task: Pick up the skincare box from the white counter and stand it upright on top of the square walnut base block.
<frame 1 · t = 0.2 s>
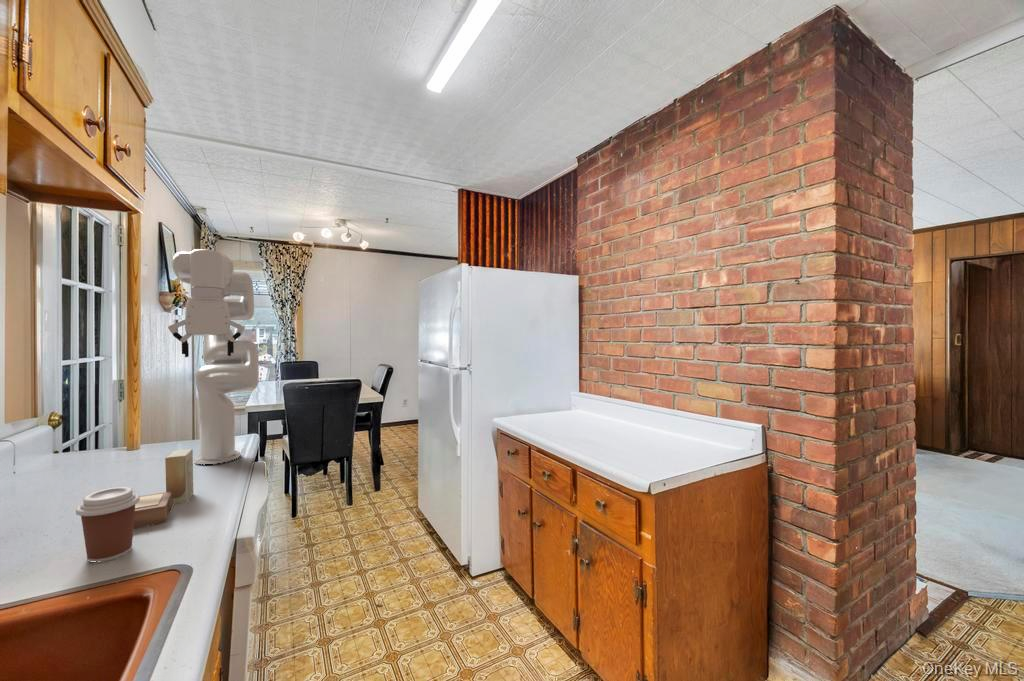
hand: (208, 356, 118), 36 cm above the countertop, tool pointing down, fingers open, 9 cm apart
coffee cup: (110, 554, 83), on the countertop
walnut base: (141, 518, 98), on the countertop
skincare box: (180, 500, 109), on the countertop
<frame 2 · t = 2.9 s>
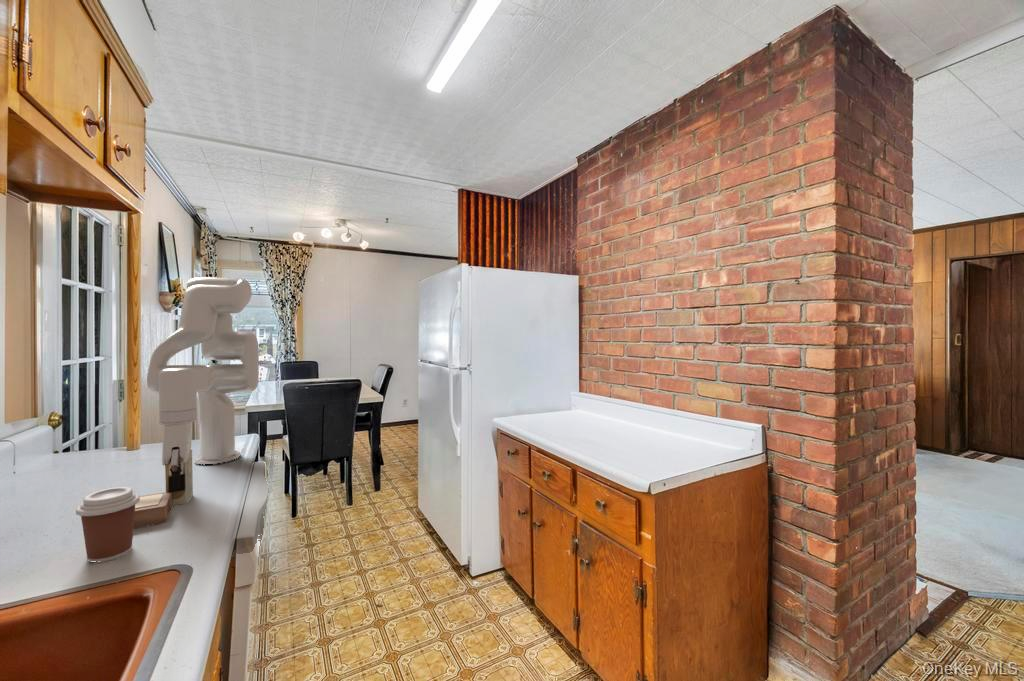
hand: (179, 485, 108), 4 cm above the countertop, tool pointing down, fingers closed on skincare box, 6 cm apart
skincare box: (179, 501, 108), on the countertop, touching gripper
everything else where it was.
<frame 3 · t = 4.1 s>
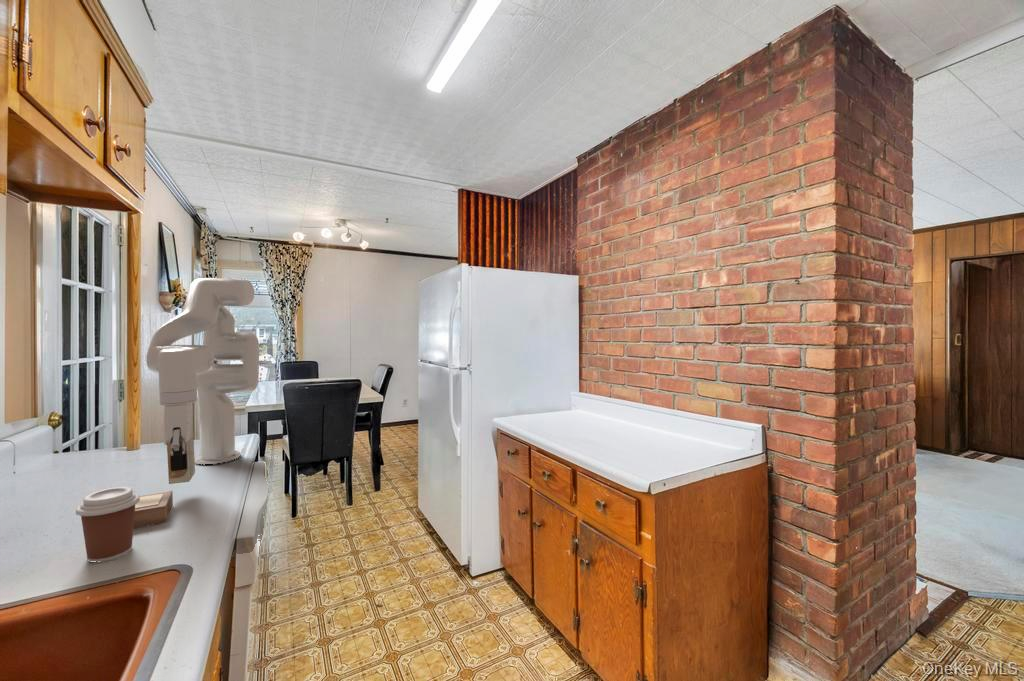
hand: (181, 464, 109), 9 cm above the countertop, tool pointing down, fingers closed on skincare box, 6 cm apart
skincare box: (182, 479, 110), point 5 cm above the countertop, touching gripper
everything else where it was.
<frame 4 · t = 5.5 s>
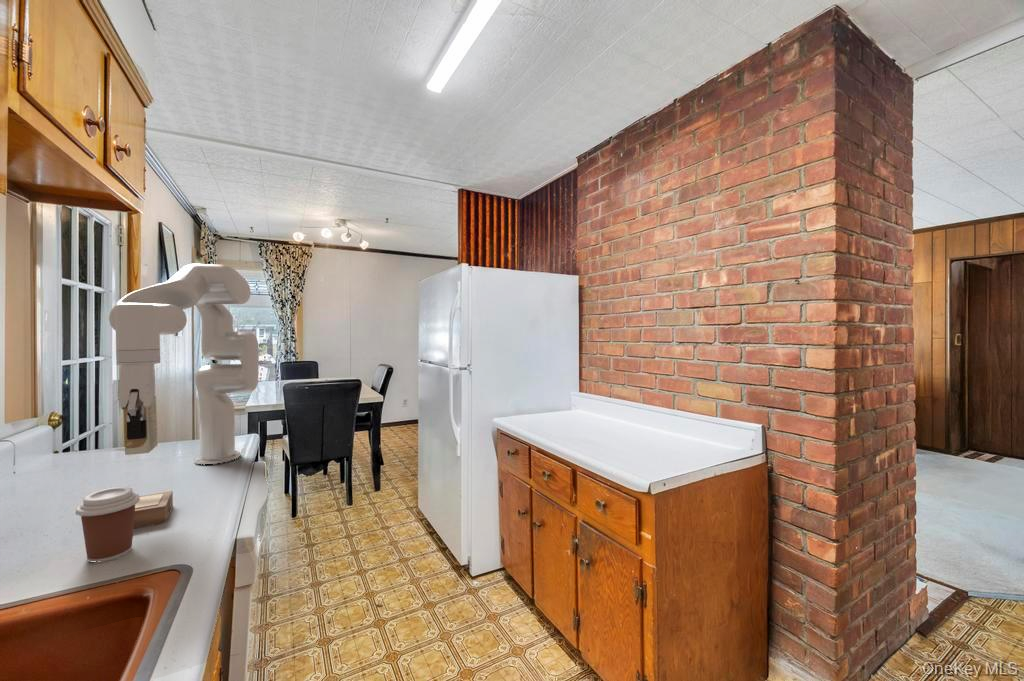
hand: (140, 434, 97), 20 cm above the countertop, tool pointing down, fingers closed on skincare box, 6 cm apart
skincare box: (141, 451, 98), point 16 cm above the countertop, touching gripper
everything else where it was.
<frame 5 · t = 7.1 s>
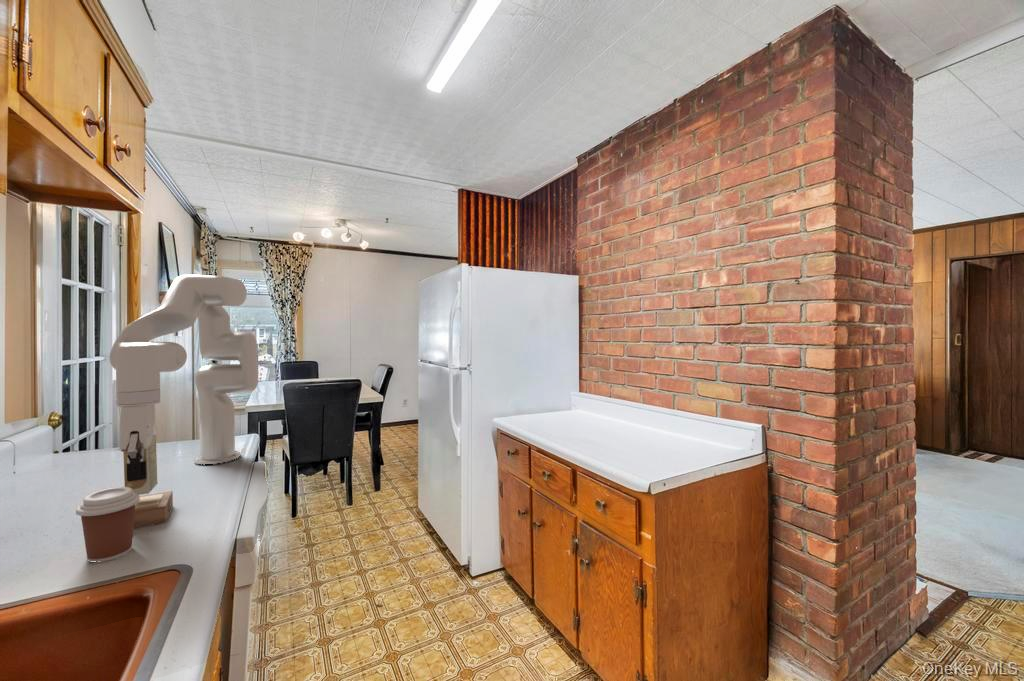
hand: (140, 474, 97), 10 cm above the countertop, tool pointing down, fingers closed on skincare box, 6 cm apart
skincare box: (141, 491, 98), point 6 cm above the countertop, touching gripper
everything else where it was.
when the fingers open (8 cm above the countertop, at t = 8.2 s): skincare box stays where it is, resting on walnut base.
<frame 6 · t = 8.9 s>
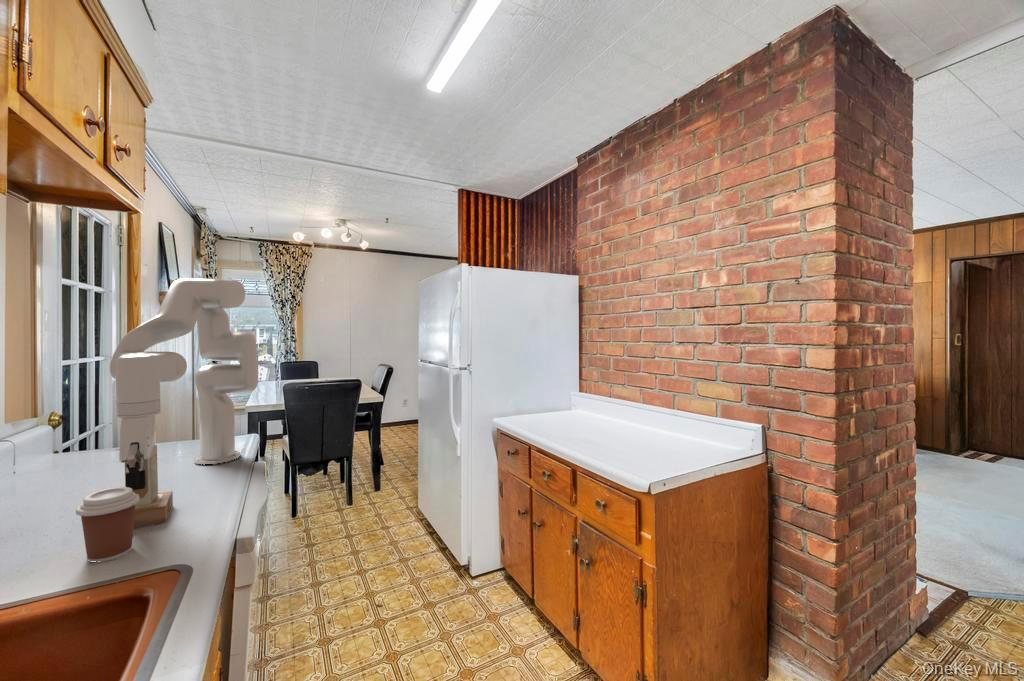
hand: (140, 482, 97), 9 cm above the countertop, tool pointing down, fingers open, 9 cm apart
skincare box: (142, 502, 98), point 4 cm above the countertop, touching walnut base
everything else where it was.
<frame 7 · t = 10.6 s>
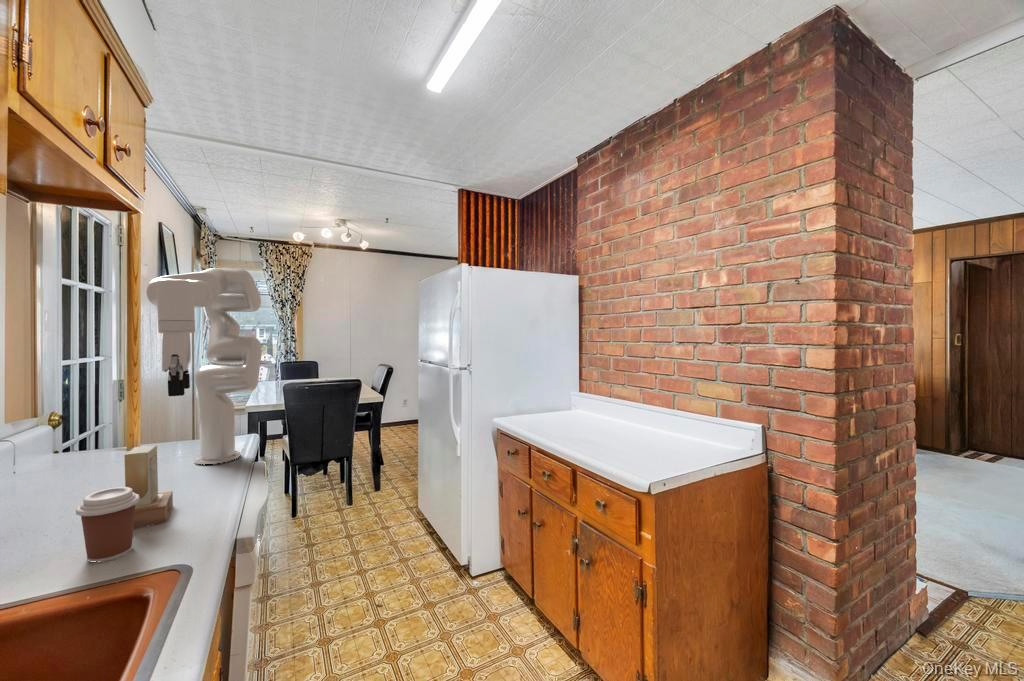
hand: (179, 392, 111), 27 cm above the countertop, tool pointing down, fingers open, 9 cm apart
nothing on the countertop moved.
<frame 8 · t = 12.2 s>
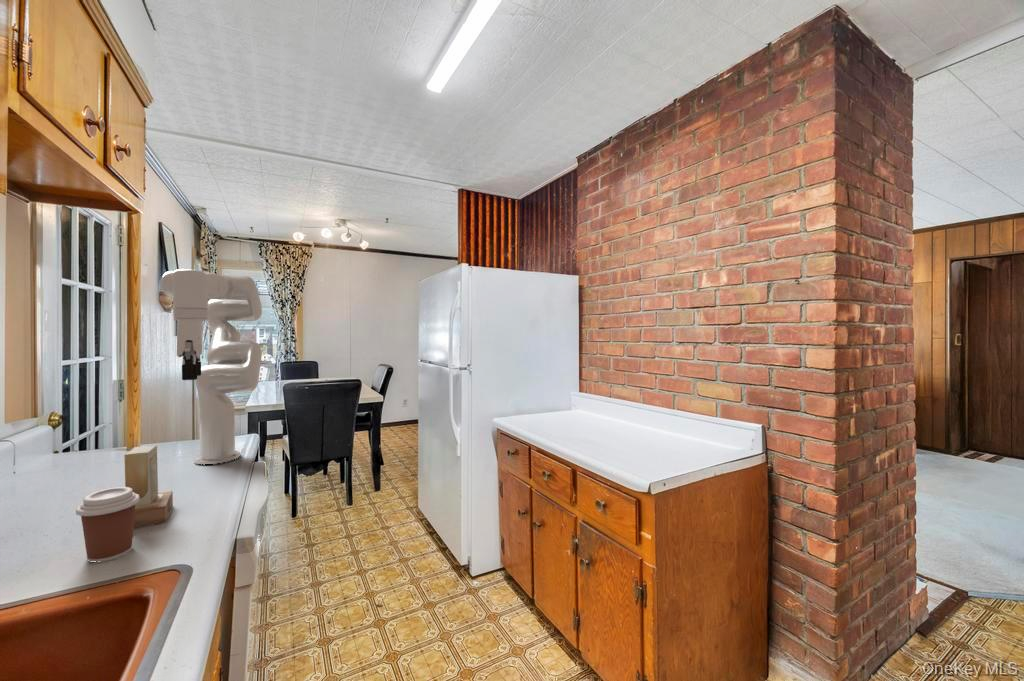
hand: (192, 377, 116), 30 cm above the countertop, tool pointing down, fingers open, 9 cm apart
nothing on the countertop moved.
at the end: skincare box inside the target area on the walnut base (0.3 cm from its centre), point 3.8 cm above the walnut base's base; skincare box tilted 0°; the gripper is holding nothing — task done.
